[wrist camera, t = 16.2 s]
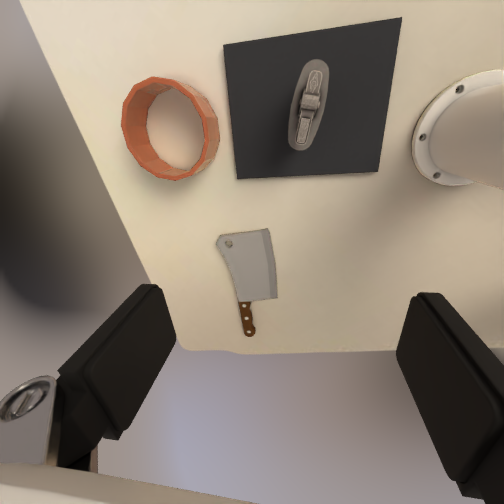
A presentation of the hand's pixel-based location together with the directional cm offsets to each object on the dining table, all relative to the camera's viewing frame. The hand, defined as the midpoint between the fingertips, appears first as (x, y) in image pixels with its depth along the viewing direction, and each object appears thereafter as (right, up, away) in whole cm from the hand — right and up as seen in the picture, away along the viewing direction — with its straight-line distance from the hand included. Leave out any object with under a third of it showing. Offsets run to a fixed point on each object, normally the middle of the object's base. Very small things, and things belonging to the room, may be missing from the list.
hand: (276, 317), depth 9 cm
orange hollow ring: (-12, +20, +26) cm, 35 cm away
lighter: (+6, +21, +22) cm, 31 cm away
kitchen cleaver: (-1, -4, +37) cm, 38 cm away
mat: (+6, +21, +22) cm, 31 cm away
